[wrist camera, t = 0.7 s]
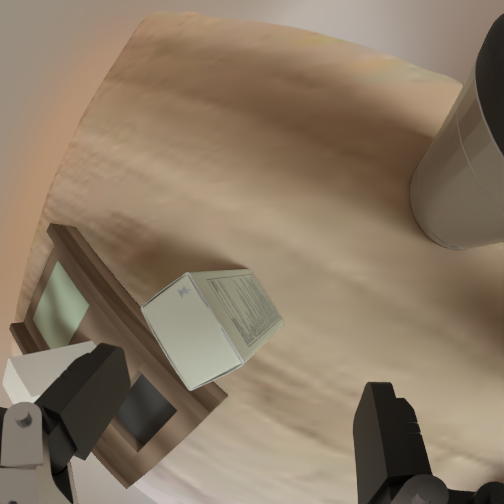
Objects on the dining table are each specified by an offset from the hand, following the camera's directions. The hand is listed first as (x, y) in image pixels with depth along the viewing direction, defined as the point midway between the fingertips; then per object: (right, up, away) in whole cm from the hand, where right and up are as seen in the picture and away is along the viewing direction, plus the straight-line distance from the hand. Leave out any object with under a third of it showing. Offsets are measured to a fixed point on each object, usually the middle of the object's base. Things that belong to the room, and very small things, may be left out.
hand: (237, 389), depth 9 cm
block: (-18, -9, +23) cm, 30 cm away
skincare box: (0, -1, +20) cm, 20 cm away
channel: (-17, -9, +25) cm, 31 cm away
